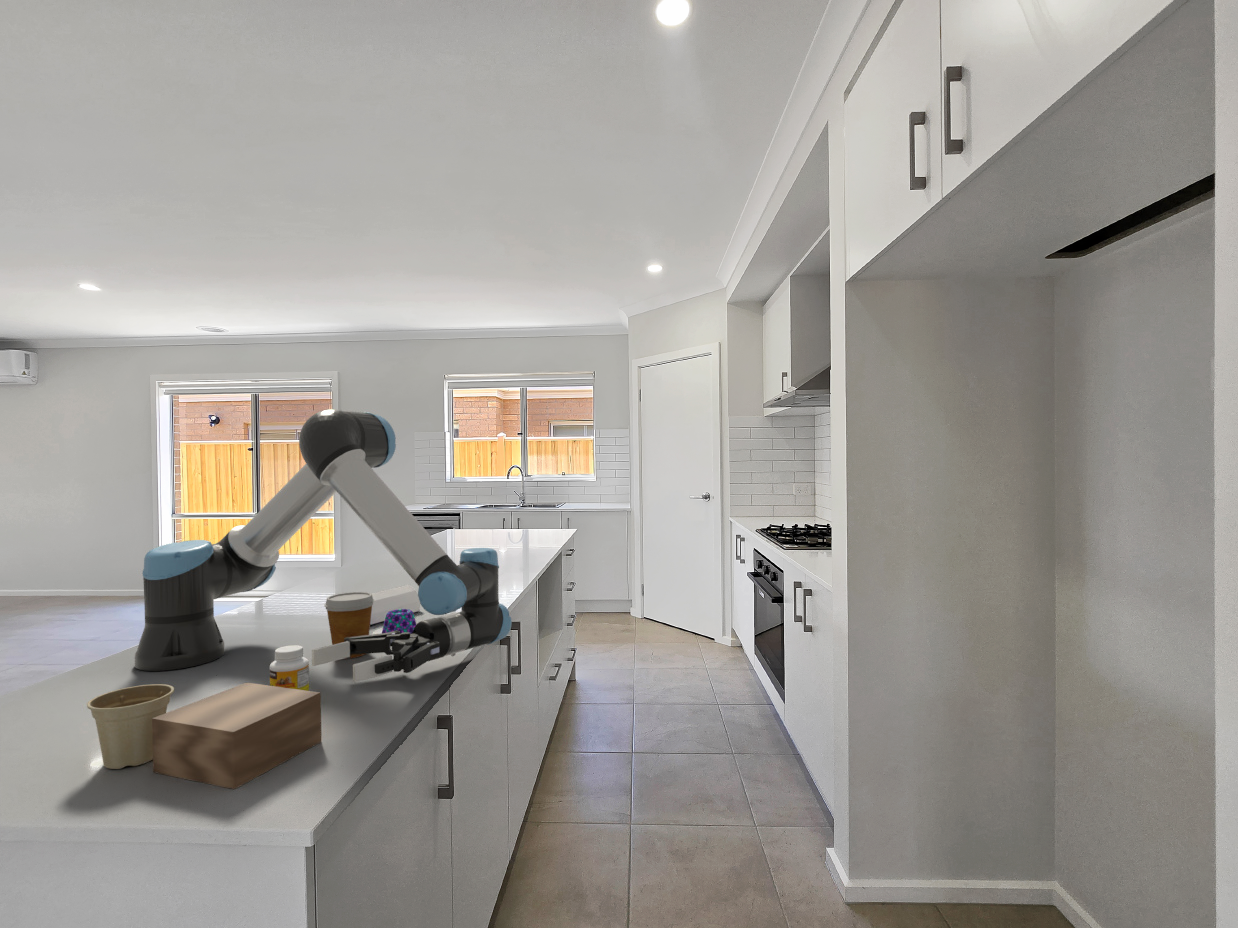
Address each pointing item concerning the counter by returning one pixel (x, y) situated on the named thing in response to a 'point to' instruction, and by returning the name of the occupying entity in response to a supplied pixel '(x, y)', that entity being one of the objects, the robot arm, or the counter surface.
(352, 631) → the disposable coffee cup
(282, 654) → the supplement bottle
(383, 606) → the white rectangular box
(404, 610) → the pudding
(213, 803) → the counter surface
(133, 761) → the flower pot
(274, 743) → the block
